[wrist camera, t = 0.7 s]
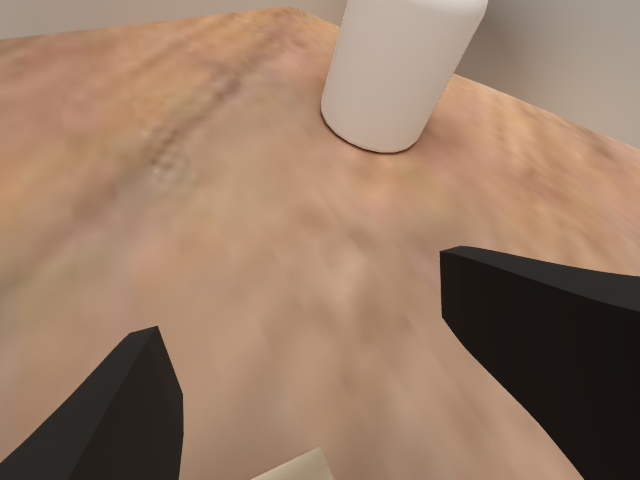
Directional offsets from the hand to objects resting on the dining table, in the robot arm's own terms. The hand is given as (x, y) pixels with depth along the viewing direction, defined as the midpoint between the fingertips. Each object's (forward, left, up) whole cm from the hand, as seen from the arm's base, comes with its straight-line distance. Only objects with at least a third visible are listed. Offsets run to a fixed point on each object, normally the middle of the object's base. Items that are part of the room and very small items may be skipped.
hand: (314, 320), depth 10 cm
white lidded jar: (+29, -24, -17) cm, 42 cm away
